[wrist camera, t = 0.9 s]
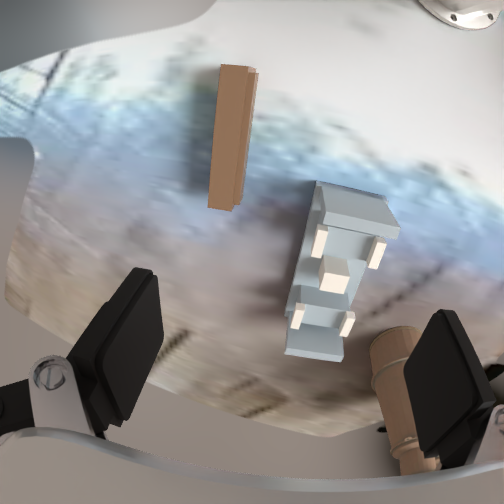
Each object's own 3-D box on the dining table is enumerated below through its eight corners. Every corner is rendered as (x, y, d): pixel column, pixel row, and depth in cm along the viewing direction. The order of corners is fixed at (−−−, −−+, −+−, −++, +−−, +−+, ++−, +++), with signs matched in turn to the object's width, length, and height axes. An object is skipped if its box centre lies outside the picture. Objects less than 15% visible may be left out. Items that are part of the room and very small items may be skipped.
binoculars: (356, 343, 44) (366, 503, 23) (414, 313, 40) (455, 477, 19) (401, 397, 51) (413, 514, 29) (446, 376, 46) (472, 495, 25)
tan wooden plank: (232, 66, 27) (220, 64, 23) (262, 69, 27) (255, 67, 23) (219, 190, 35) (207, 207, 31) (245, 194, 35) (237, 212, 30)
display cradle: (316, 180, 32) (320, 210, 26) (385, 196, 32) (405, 229, 25) (284, 309, 42) (280, 353, 35) (340, 318, 42) (344, 362, 35)
